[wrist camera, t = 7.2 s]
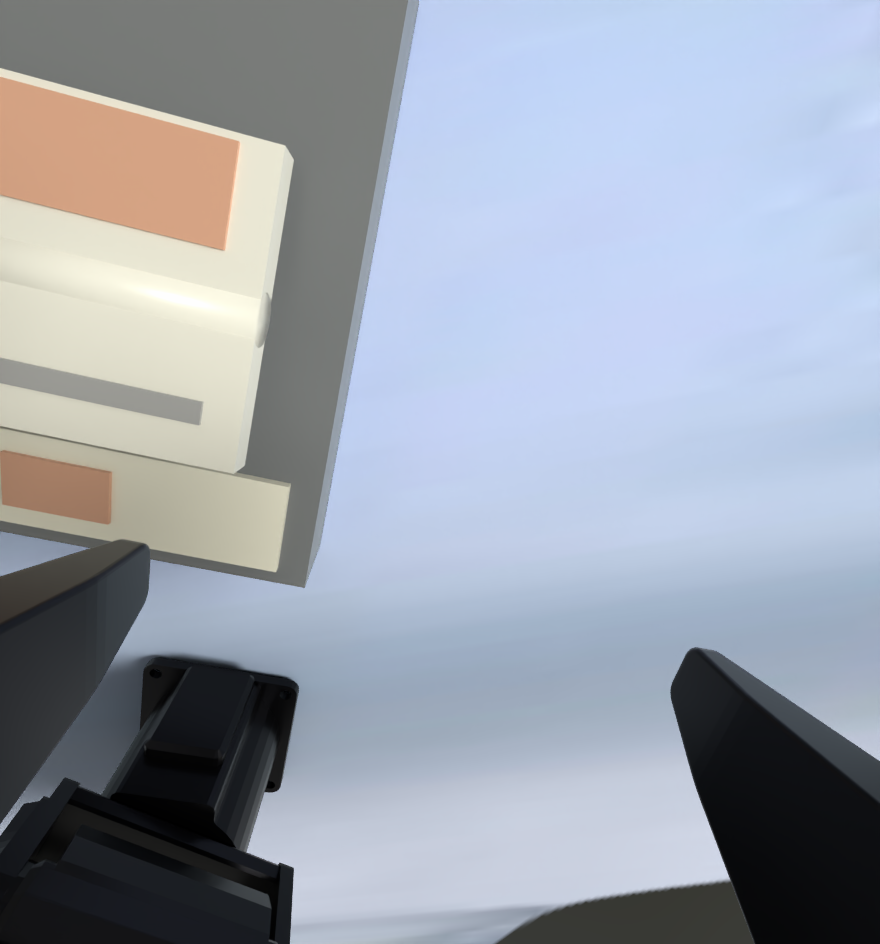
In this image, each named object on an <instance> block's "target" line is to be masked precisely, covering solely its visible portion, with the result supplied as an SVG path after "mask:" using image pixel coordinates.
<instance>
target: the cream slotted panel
mask: <svg viewBox="0 0 880 944" xmlns="http://www.w3.org/2000/svg"><path fill="white" fill-rule="evenodd" d="M293 162H294V159H293V157H292V156H291V154H290V153H289V151H288V149H287V148H286V146H285V145H282V144H278V143H274V142H270V141H267V140H263V139H259V138H256V137H252V136H248V135H245V134H241V133H237V132H234V131H230V130H226V129H223V128H219V127H215V126H212V125H208V124H204V123H201V122H197V121H193V120H190V119H186V118H182V117H179V116H175V115H171V114H168V113H164V112H160V111H157V110H153V109H149V108H146V107H142V106H138V105H134V104H131V103H127V102H123V101H120V100H116V99H112V98H109V97H105V96H101V95H98V94H94V93H90V92H87V91H83V90H79V89H76V88H72V87H68V86H65V85H61V84H57V83H54V82H50V81H46V80H43V79H39V78H35V77H32V76H28V75H24V74H21V73H17V72H13V71H9V70H6V69H2V68H0V426H3V427H8V428H13V429H18V430H23V431H28V432H33V433H37V434H42V435H47V436H52V437H57V438H62V439H67V440H72V441H76V442H81V443H86V444H91V445H96V446H101V447H106V448H110V449H115V450H120V451H125V452H130V453H135V454H140V455H145V456H149V457H154V458H159V459H164V460H169V461H174V462H179V463H183V464H188V465H193V466H198V467H203V468H208V469H213V470H218V471H222V472H227V473H232V474H234V473H236V472H237V471H238V470H240V469H241V468H242V467H244V466H245V461H246V455H247V449H248V442H249V436H250V430H251V424H252V417H253V411H254V405H255V399H256V393H257V386H258V380H259V374H260V368H261V361H262V355H263V349H264V343H265V339H266V336H267V332H268V328H269V323H270V316H271V299H272V293H273V287H274V280H275V274H276V268H277V262H278V256H279V249H280V243H281V237H282V231H283V224H284V218H285V212H286V206H287V199H288V193H289V187H290V181H291V175H292V168H293Z"/></svg>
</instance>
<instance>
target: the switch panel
mask: <svg viewBox="0 0 880 944" xmlns="http://www.w3.org/2000/svg"><path fill="white" fill-rule="evenodd" d="M418 5H419V0H0V68H2V69H6V70H9V71H13V72H17V73H21V74H24V75H28V76H32V77H35V78H39V79H43V80H46V81H50V82H54V83H57V84H61V85H65V86H68V87H72V88H76V89H79V90H83V91H87V92H90V93H94V94H98V95H101V96H105V97H109V98H112V99H116V100H120V101H123V102H127V103H131V104H134V105H138V106H142V107H146V108H149V109H153V110H157V111H160V112H164V113H168V114H171V115H175V116H179V117H182V118H186V119H190V120H193V121H197V122H201V123H204V124H208V125H212V126H215V127H219V128H223V129H226V130H230V131H234V132H237V133H241V134H245V135H248V136H252V137H256V138H259V139H263V140H267V141H270V142H274V143H278V144H282V145H285V146H286V148H287V149H288V151H289V153H290V154H291V156H292V157H293V159H294V162H293V168H292V175H291V181H290V187H289V193H288V199H287V206H286V212H285V218H284V224H283V231H282V237H281V243H280V249H279V256H278V262H277V268H276V274H275V280H274V287H273V293H272V299H271V316H270V323H269V328H268V332H267V336H266V339H265V343H264V349H263V355H262V361H261V368H260V374H259V380H258V386H257V393H256V399H255V405H254V411H253V417H252V424H251V430H250V436H249V442H248V449H247V455H246V461H245V466H244V467H242V468H241V469H240V470H238V471H237V472H236V473H234V474H232V473H227V472H222V471H218V470H213V469H208V468H203V467H198V466H193V465H188V464H183V463H179V462H174V461H169V460H164V459H159V458H154V457H149V456H145V455H140V454H135V453H130V452H125V451H120V450H115V449H110V448H106V447H101V446H96V445H91V444H86V443H81V442H76V441H72V440H67V439H62V438H57V437H52V436H47V435H42V434H37V433H33V432H28V431H23V430H18V429H13V428H8V427H3V426H0V531H2V532H7V533H13V534H18V535H24V536H29V537H34V538H40V539H45V540H50V541H56V542H61V543H67V544H72V545H77V546H83V547H88V548H93V547H96V546H99V545H103V544H106V543H109V542H112V541H115V540H119V539H125V540H131V541H136V542H141V543H145V544H147V545H148V546H149V548H150V559H153V560H158V561H163V562H169V563H174V564H180V565H185V566H190V567H196V568H201V569H206V570H212V571H217V572H223V573H228V574H233V575H239V576H244V577H249V578H255V579H260V580H266V581H271V582H276V583H282V584H287V585H292V586H298V587H303V588H305V585H306V582H307V580H308V577H309V574H310V571H311V569H312V566H313V563H314V561H315V558H316V555H317V552H318V550H319V547H320V543H321V537H322V532H323V526H324V521H325V515H326V510H327V504H328V499H329V493H330V488H331V482H332V477H333V471H334V466H335V460H336V455H337V449H338V444H339V438H340V433H341V427H342V422H343V416H344V411H345V406H346V400H347V395H348V389H349V384H350V378H351V373H352V367H353V362H354V356H355V351H356V345H357V340H358V334H359V329H360V323H361V318H362V312H363V307H364V301H365V296H366V290H367V285H368V279H369V274H370V268H371V263H372V258H373V252H374V247H375V241H376V236H377V230H378V225H379V219H380V214H381V208H382V203H383V197H384V192H385V186H386V181H387V175H388V170H389V164H390V159H391V153H392V148H393V142H394V137H395V131H396V126H397V120H398V115H399V110H400V104H401V99H402V93H403V88H404V82H405V77H406V71H407V66H408V60H409V55H410V49H411V44H412V38H413V33H414V27H415V22H416V16H417V11H418Z"/></svg>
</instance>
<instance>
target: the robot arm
mask: <svg viewBox="0 0 880 944" xmlns="http://www.w3.org/2000/svg"><path fill="white" fill-rule="evenodd" d="M149 573H150V548H149V546H148V545H147V544H145V543H141V542H136V541H131V540H125V539H119V540H115V541H112V542H109V543H106V544H103V545H99V546H96V547H93V548H90V549H87V550H84V551H80V552H77V553H74V554H71V555H68V556H64V557H61V558H58V559H55V560H52V561H48V562H45V563H42V564H39V565H36V566H32V567H29V568H26V569H23V570H20V571H17V572H13V573H10V574H7V575H4V576H1V577H0V824H1V822H2V821H3V819H4V818H5V817H6V815H7V814H8V812H9V811H10V810H11V808H12V807H13V805H14V804H15V803H16V801H17V800H18V798H19V797H20V796H21V794H22V793H23V791H24V790H25V789H26V787H27V786H28V784H29V783H30V782H31V780H32V779H33V778H34V776H35V775H36V773H37V772H38V771H39V769H40V768H41V766H42V765H43V764H44V762H45V761H46V759H47V758H48V757H49V755H50V754H51V752H52V751H53V750H54V748H55V747H56V745H57V744H58V743H59V741H60V740H61V738H62V737H63V736H64V734H65V733H66V731H67V730H68V729H69V727H70V726H71V724H72V723H73V722H74V720H75V719H76V717H77V716H78V715H79V713H80V712H81V710H82V709H83V708H84V706H85V705H86V703H87V702H88V700H89V699H90V697H91V696H92V695H93V693H94V692H95V690H96V688H97V687H98V685H99V683H100V682H101V680H102V678H103V677H104V675H105V673H106V671H107V670H108V668H109V666H110V664H111V662H112V661H113V659H114V657H115V655H116V653H117V652H118V650H119V648H120V646H121V645H122V643H123V641H124V639H125V637H126V636H127V634H128V632H129V630H130V628H131V627H132V625H133V623H134V621H135V620H136V618H137V616H138V614H139V612H140V611H141V609H142V607H143V605H144V603H145V601H146V598H147V595H148V589H149ZM155 669H157V670H159V671H160V672H158V671H156V670H155ZM284 691H289V692H290V693H286V692H284ZM298 693H299V686H298V685H297V683H295V682H294V681H292V680H289V679H283V678H277V677H271V676H265V675H259V674H253V673H247V672H241V671H235V670H229V669H223V668H217V667H211V666H205V665H199V664H193V663H187V662H181V661H175V660H169V659H163V658H154V659H152V660H151V661H149V663H148V664H147V666H146V667H145V669H144V672H143V688H142V705H141V722H140V732H139V733H138V735H137V737H136V738H135V740H134V742H133V743H132V745H131V747H130V748H129V750H128V751H127V753H126V755H125V756H124V758H123V760H122V761H121V763H120V765H119V766H118V768H117V770H116V771H115V773H114V775H113V776H112V778H111V780H110V781H109V783H108V785H107V786H106V788H105V790H104V791H103V793H102V794H101V795H100V794H97V793H95V792H92V791H90V790H87V789H84V788H82V787H79V785H80V783H78V782H76V781H73V780H71V779H68V778H64V779H63V780H62V782H61V783H60V785H59V786H58V787H57V789H56V790H55V791H54V793H53V794H52V795H51V797H50V798H48V797H45V796H44V797H43V798H42V799H41V800H40V801H38V802H32V803H26V804H24V805H23V806H22V807H21V809H20V810H19V811H18V813H17V814H16V815H15V817H14V818H13V819H12V821H11V822H10V824H9V825H8V826H7V828H6V829H5V830H4V832H3V833H2V834H1V836H0V944H290V929H291V911H292V893H293V875H294V868H292V867H290V866H287V865H285V864H282V863H279V864H278V865H277V864H274V863H272V862H269V861H267V860H264V859H262V858H259V857H257V856H254V855H252V854H249V853H246V851H247V848H248V845H249V842H250V838H251V835H252V832H253V828H254V825H255V822H256V818H257V815H258V812H259V808H260V805H261V802H262V798H263V795H264V792H276V791H277V790H279V788H280V786H281V782H282V778H283V773H284V768H285V762H286V757H287V752H288V746H289V741H290V736H291V730H292V725H293V720H294V714H295V709H296V703H297V698H298ZM670 693H671V701H672V704H673V708H674V711H675V715H676V719H677V722H678V726H679V730H680V733H681V737H682V741H683V744H684V748H685V752H686V755H687V759H688V763H689V766H690V770H691V773H692V776H693V780H694V783H695V786H696V789H697V792H698V795H699V798H700V801H701V803H702V806H703V809H704V811H705V814H706V817H707V819H708V822H709V825H710V827H711V830H712V833H713V835H714V838H715V840H716V843H717V846H718V848H719V851H720V854H721V856H722V859H723V862H724V864H725V867H726V870H727V872H728V875H729V878H730V880H731V883H732V886H733V888H734V891H735V894H736V896H737V899H738V901H739V904H740V907H741V909H742V912H743V915H744V917H745V920H746V923H747V925H748V928H749V930H750V933H751V936H752V938H753V941H754V944H880V761H879V760H877V759H876V758H874V757H873V756H871V755H870V754H868V753H867V752H865V751H864V750H862V749H861V748H859V747H858V746H856V745H855V744H853V743H852V742H850V741H849V740H847V739H846V738H845V737H843V736H842V735H840V734H839V733H837V732H836V731H834V730H833V729H831V728H830V727H828V726H827V725H825V724H824V723H822V722H821V721H819V720H818V719H816V718H815V717H813V716H812V715H811V714H809V713H808V712H806V711H805V710H803V709H802V708H800V707H799V706H797V705H796V704H794V703H793V702H791V701H790V700H788V699H787V698H785V697H784V696H782V695H781V694H779V693H778V692H776V691H775V690H774V689H772V688H771V687H769V686H768V685H766V684H765V683H763V682H762V681H760V680H759V679H757V678H756V677H754V676H753V675H751V674H750V673H748V672H747V671H745V670H744V669H742V668H741V667H740V666H738V665H737V664H735V663H734V662H732V661H731V660H729V659H728V658H726V657H725V656H723V655H722V654H720V653H719V652H717V651H714V650H709V649H703V648H697V647H695V648H692V649H690V650H689V651H688V652H687V654H686V655H685V658H684V660H683V662H682V664H681V666H680V668H679V670H678V672H677V674H676V676H675V678H674V680H673V682H672V685H671V692H670Z"/></svg>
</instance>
